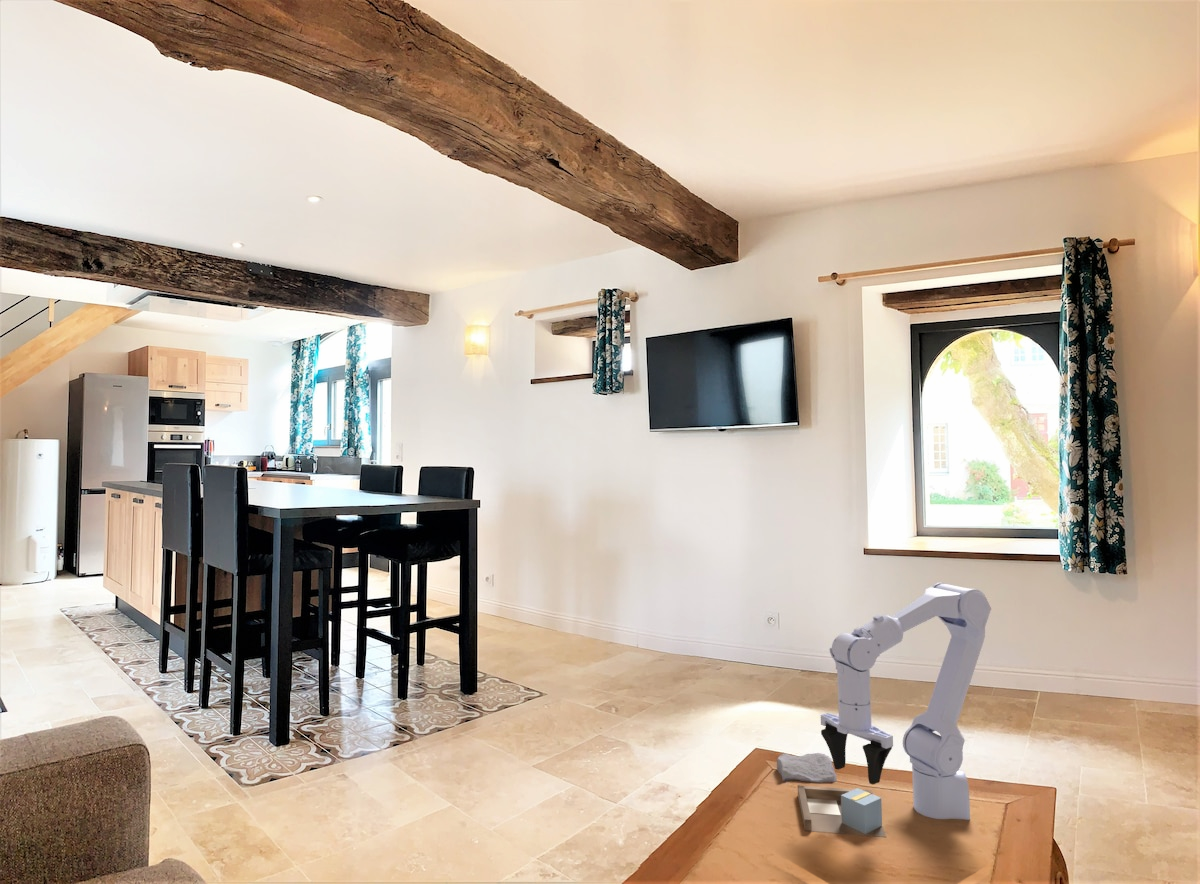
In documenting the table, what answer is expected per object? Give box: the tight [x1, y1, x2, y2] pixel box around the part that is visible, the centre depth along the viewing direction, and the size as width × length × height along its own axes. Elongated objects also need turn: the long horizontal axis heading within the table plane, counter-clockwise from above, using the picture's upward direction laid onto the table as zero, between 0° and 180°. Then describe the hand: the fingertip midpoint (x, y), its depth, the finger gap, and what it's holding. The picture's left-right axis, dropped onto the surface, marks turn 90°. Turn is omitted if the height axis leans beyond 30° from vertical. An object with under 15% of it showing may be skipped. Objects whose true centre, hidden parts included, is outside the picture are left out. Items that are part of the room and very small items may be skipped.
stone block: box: [776, 752, 837, 784], centre depth 152 cm, size 12×5×10 cm
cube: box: [841, 787, 883, 834], centre depth 130 cm, size 5×5×5 cm
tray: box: [797, 785, 887, 838], centre depth 133 cm, size 14×14×3 cm
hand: (856, 775), depth 130 cm, fingers open, 7 cm apart
